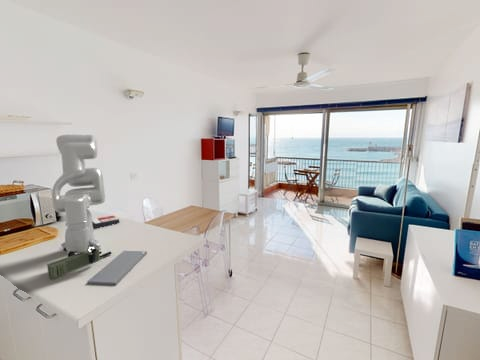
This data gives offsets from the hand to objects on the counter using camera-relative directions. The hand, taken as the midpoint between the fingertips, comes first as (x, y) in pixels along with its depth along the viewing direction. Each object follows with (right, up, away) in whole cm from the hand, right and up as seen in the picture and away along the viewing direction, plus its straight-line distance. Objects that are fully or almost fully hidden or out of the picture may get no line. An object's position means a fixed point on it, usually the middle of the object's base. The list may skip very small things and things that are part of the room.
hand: (82, 261), depth 107 cm
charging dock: (+18, -2, -1) cm, 18 cm away
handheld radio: (0, -3, +1) cm, 2 cm away
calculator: (-20, +6, +53) cm, 56 cm away
